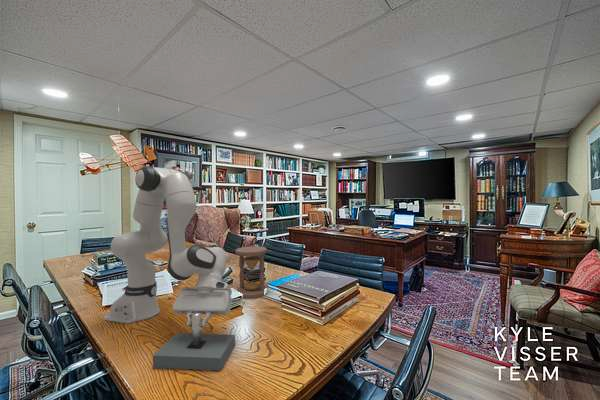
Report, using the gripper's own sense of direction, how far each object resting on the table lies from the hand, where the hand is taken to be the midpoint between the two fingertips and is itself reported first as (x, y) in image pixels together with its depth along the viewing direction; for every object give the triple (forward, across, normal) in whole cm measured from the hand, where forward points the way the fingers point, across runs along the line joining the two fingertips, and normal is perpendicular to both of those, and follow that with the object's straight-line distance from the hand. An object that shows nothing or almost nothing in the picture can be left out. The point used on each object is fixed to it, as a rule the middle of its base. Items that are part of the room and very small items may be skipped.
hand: (195, 326), depth 89 cm
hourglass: (-35, +3, +50) cm, 62 cm away
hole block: (+7, 0, +8) cm, 10 cm away
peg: (+4, 0, +5) cm, 6 cm away
